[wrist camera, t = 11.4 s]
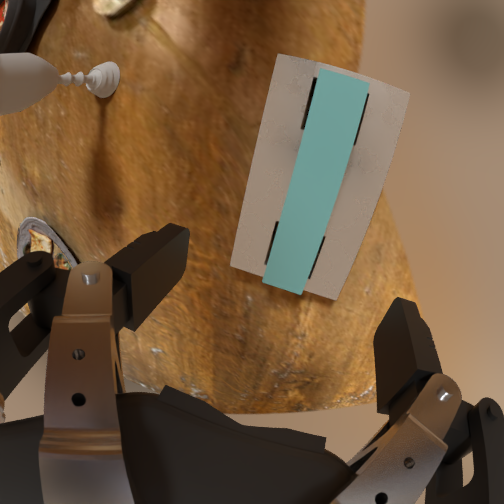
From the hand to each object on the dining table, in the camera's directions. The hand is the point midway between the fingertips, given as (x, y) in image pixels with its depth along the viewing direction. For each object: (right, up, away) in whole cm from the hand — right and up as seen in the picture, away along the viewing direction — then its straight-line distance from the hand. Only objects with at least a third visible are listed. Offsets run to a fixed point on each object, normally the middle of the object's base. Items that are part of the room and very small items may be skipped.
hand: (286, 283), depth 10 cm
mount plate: (+5, +8, +17) cm, 20 cm away
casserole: (-43, +43, +15) cm, 63 cm away
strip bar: (+5, +8, +17) cm, 20 cm away
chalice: (-20, +23, +18) cm, 35 cm away
